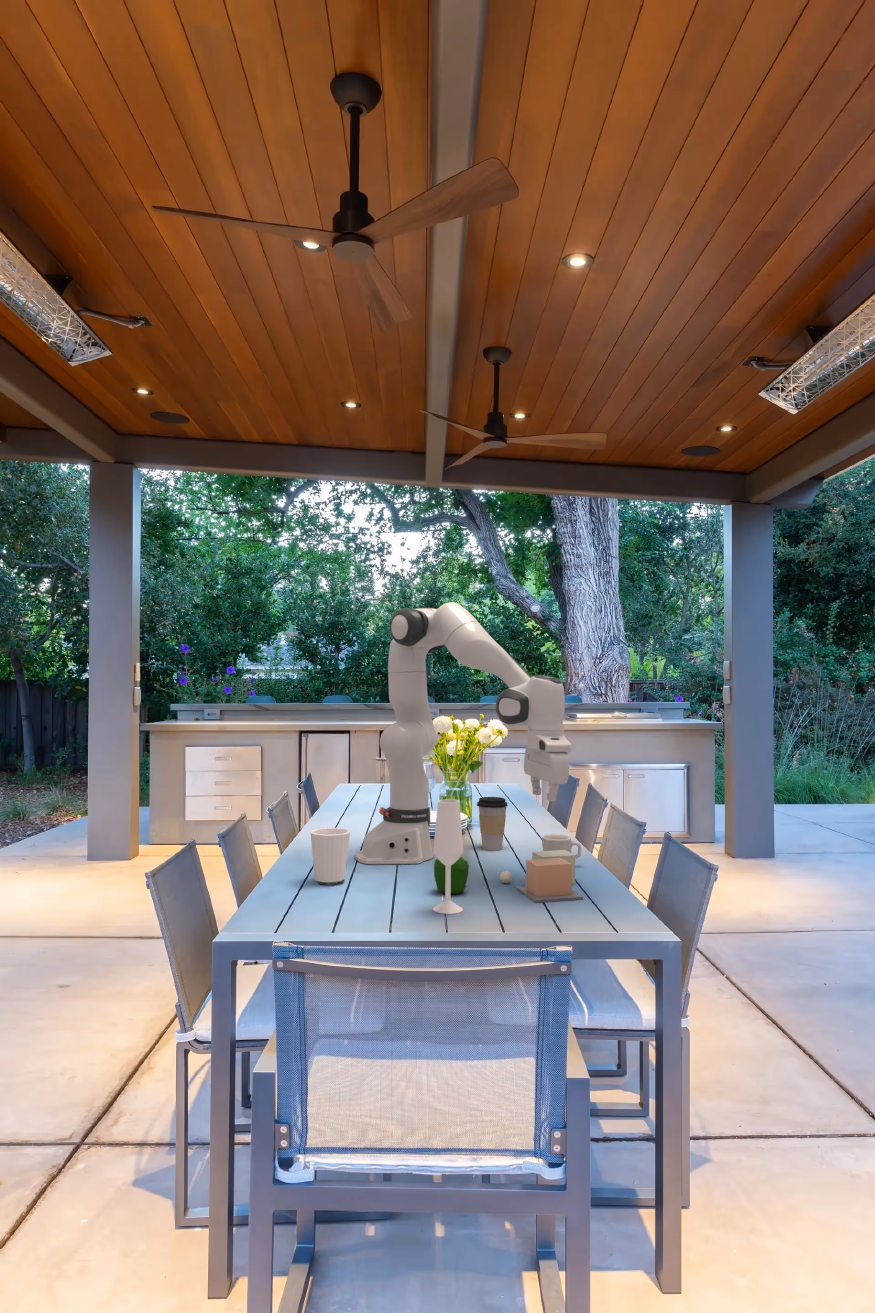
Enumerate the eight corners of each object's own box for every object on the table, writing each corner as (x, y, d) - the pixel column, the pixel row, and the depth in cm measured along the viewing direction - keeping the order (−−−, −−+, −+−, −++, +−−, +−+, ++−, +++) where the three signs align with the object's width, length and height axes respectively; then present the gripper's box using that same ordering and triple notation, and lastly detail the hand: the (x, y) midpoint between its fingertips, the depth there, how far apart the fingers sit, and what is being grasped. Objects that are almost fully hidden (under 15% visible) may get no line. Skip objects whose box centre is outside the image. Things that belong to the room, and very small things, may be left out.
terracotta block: (536, 896, 190) (536, 866, 190) (526, 889, 196) (526, 860, 196) (571, 894, 192) (572, 863, 193) (560, 887, 199) (560, 858, 199)
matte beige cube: (542, 885, 202) (542, 857, 202) (532, 879, 208) (532, 851, 208) (575, 883, 205) (575, 855, 205) (564, 877, 211) (564, 850, 211)
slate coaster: (535, 902, 187) (535, 900, 187) (516, 889, 198) (516, 887, 198) (583, 899, 190) (583, 896, 190) (561, 886, 202) (561, 884, 202)
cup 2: (580, 863, 227) (580, 834, 227) (582, 870, 219) (582, 840, 219) (541, 862, 228) (541, 833, 228) (542, 869, 220) (542, 839, 220)
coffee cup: (508, 852, 241) (509, 801, 241) (476, 851, 241) (477, 801, 241) (506, 845, 250) (506, 796, 250) (475, 845, 250) (476, 796, 250)
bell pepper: (472, 889, 199) (472, 847, 199) (464, 897, 191) (464, 854, 191) (439, 886, 201) (439, 845, 201) (429, 894, 193) (430, 852, 193)
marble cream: (510, 879, 202) (498, 880, 203) (512, 885, 204) (500, 885, 205) (510, 868, 204) (499, 869, 205) (512, 874, 206) (501, 874, 207)
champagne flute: (433, 904, 185) (434, 798, 185) (462, 905, 184) (463, 799, 185) (432, 913, 178) (433, 803, 178) (462, 914, 178) (463, 803, 178)
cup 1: (301, 882, 204) (302, 831, 204) (332, 875, 211) (332, 826, 211) (327, 889, 197) (327, 836, 197) (357, 882, 204) (358, 831, 205)
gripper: (518, 737, 209) (517, 791, 209) (549, 745, 189) (547, 805, 189) (541, 737, 211) (539, 791, 211) (574, 745, 191) (572, 804, 191)
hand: (543, 797), depth 200 cm, fingers open, 8 cm apart
